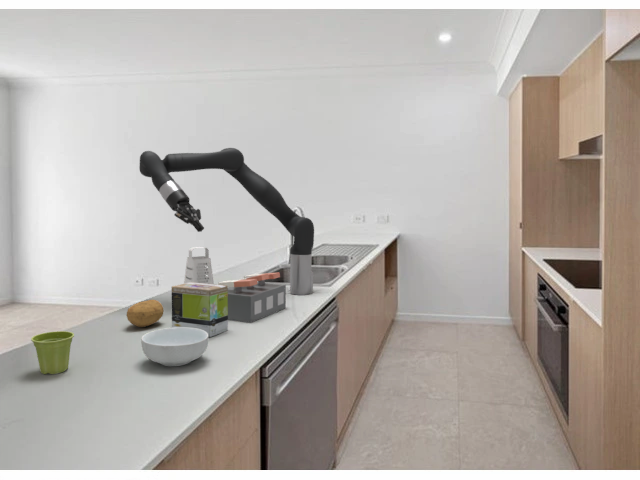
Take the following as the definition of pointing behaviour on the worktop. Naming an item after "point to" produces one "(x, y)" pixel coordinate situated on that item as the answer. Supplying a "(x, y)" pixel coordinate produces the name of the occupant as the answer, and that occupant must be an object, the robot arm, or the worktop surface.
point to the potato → (145, 313)
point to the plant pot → (53, 351)
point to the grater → (198, 268)
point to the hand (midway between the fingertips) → (201, 230)
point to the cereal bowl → (174, 345)
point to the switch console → (255, 301)
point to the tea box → (200, 307)
